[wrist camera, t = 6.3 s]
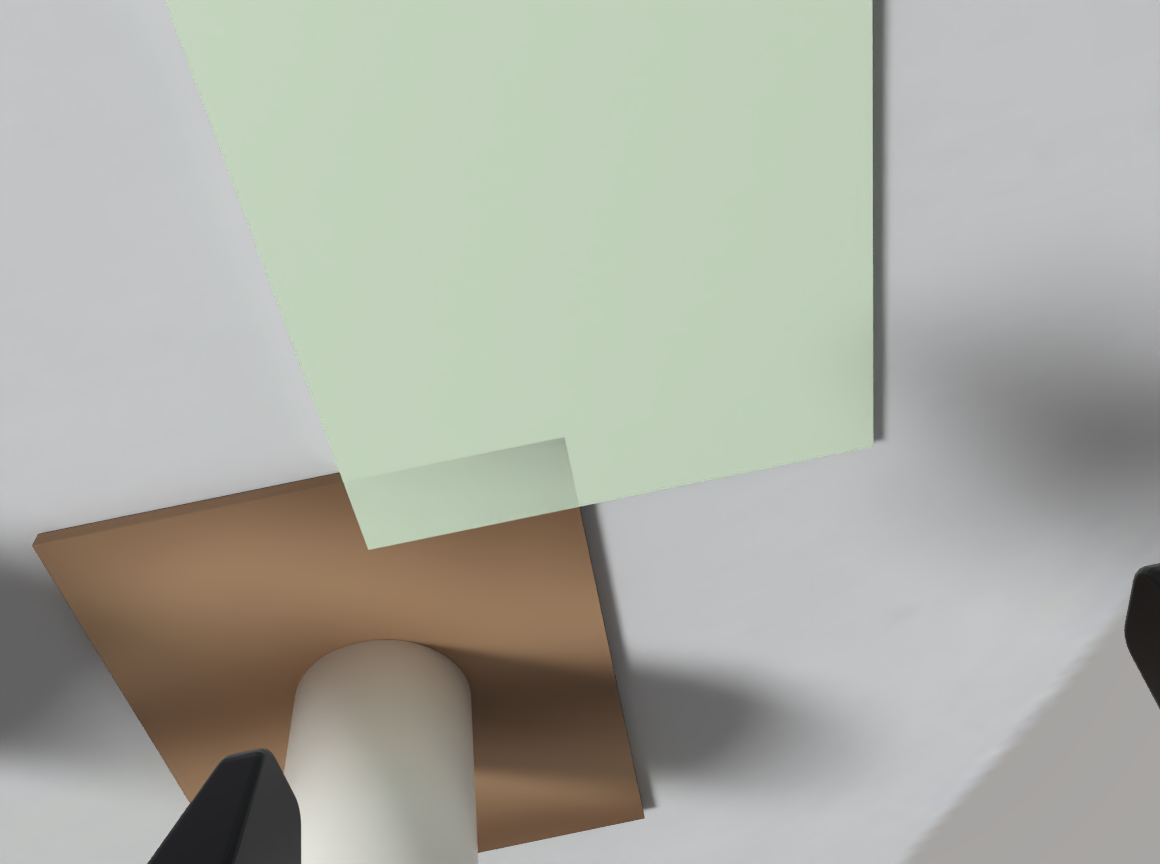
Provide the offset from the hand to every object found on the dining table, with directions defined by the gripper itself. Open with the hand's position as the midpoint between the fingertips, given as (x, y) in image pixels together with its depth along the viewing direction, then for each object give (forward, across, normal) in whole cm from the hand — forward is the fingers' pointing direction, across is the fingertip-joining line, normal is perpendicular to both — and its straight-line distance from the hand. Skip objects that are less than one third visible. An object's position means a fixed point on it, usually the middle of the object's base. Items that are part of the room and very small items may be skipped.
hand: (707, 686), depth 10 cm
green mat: (+12, 0, 0) cm, 13 cm away
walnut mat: (+12, +7, +12) cm, 19 cm away
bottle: (+12, +7, +12) cm, 18 cm away
